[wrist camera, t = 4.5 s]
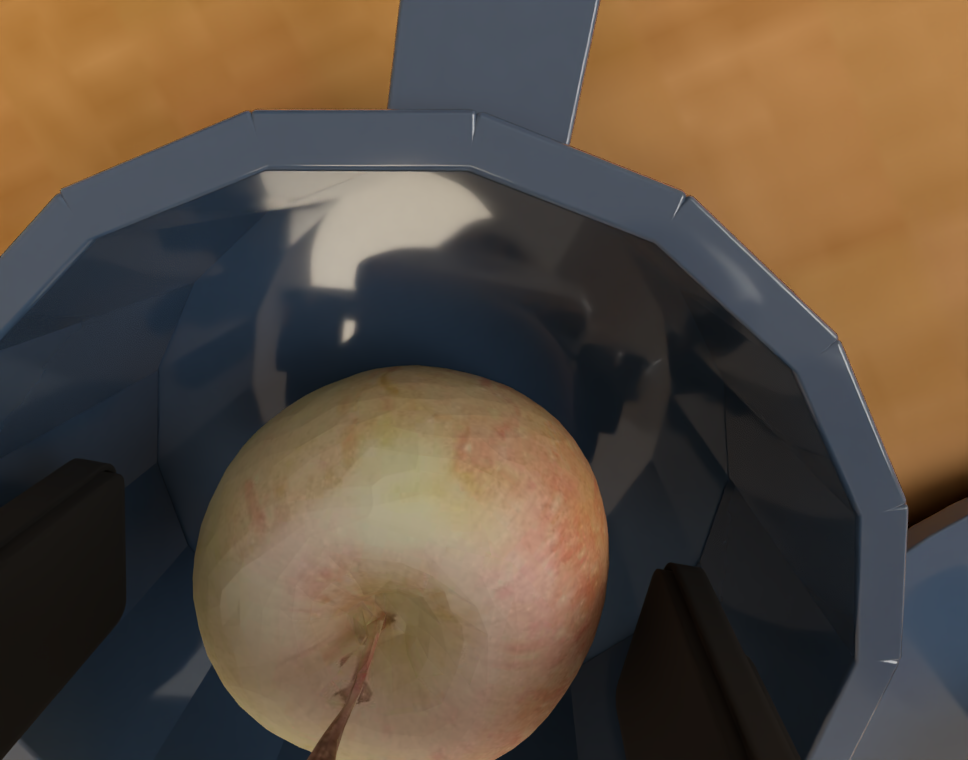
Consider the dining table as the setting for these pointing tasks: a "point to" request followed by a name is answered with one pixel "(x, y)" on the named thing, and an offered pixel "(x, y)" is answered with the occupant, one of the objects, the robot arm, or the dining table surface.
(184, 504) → the pot
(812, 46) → the dining table surface
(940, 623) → the lid
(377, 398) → the fruit
